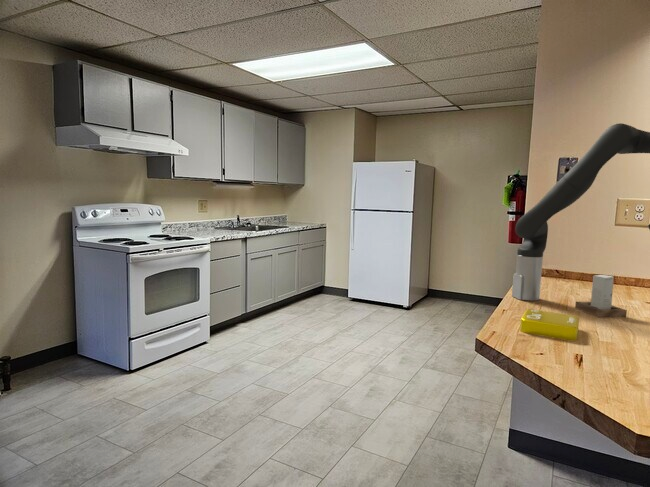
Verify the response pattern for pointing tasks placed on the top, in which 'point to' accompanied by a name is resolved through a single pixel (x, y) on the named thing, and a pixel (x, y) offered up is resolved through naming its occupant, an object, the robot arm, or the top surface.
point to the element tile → (550, 324)
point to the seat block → (601, 310)
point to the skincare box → (602, 291)
